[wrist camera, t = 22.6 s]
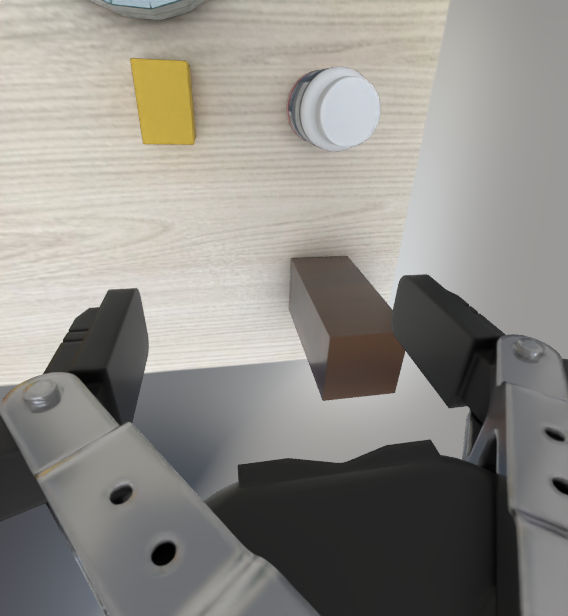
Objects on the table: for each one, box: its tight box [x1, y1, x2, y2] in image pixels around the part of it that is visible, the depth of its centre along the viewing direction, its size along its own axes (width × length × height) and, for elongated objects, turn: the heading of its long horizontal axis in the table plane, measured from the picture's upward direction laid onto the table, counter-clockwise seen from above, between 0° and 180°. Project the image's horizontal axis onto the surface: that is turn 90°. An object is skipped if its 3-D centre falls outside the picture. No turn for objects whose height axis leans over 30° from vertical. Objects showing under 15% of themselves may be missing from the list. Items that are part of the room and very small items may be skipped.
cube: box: [130, 58, 196, 145], centre depth 26 cm, size 5×4×4 cm
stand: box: [289, 256, 405, 401], centre depth 33 cm, size 6×6×14 cm
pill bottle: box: [287, 67, 381, 151], centre depth 27 cm, size 5×5×9 cm
